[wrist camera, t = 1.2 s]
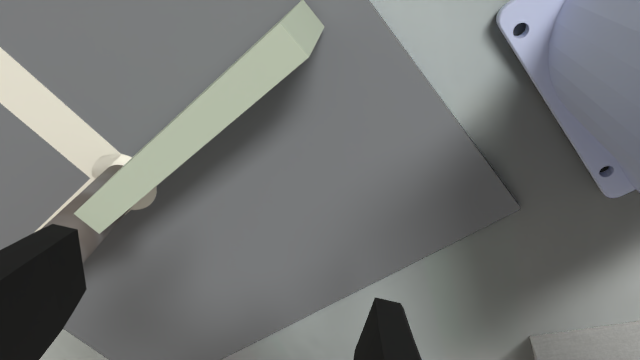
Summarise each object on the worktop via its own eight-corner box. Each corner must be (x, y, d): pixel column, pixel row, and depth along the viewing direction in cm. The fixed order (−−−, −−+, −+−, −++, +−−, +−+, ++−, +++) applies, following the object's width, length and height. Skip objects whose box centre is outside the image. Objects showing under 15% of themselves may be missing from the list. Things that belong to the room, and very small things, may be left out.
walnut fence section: (152, 186, 20) (93, 255, 16) (24, 294, 26) (-45, 367, 22) (119, 156, 20) (48, 221, 16) (-5, 274, 25) (-82, 346, 21)
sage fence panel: (324, 26, 15) (309, 57, 12) (146, 180, 20) (99, 234, 17) (302, -1, 15) (280, 22, 12) (126, 162, 20) (73, 213, 16)
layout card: (519, 205, 19) (521, 209, 19) (158, 387, 30) (156, 392, 30) (44, -444, 11) (34, -454, 10) (-208, 138, 22) (-215, 141, 22)
